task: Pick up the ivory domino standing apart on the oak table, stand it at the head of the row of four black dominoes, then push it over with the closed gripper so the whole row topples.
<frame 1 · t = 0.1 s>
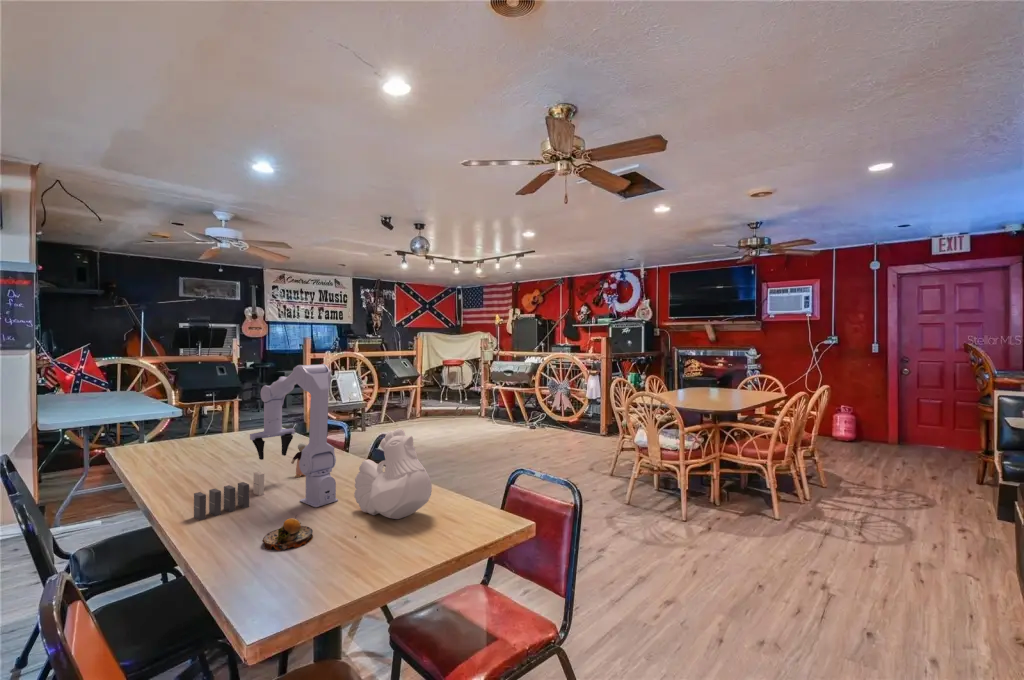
hand: (272, 457, 166), 10 cm above the table, tool pointing down, fingers open, 7 cm apart
decorative rooster: (391, 514, 139), on the table
tile 3: (214, 513, 138), on the table
tile 4: (199, 518, 135), on the table
grandmother figurine: (302, 476, 177), on the table
tile 2: (229, 510, 142), on the table
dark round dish: (288, 542, 121), on the table
ivory tile: (258, 493, 157), on the table
tile 1: (243, 506, 145), on the table
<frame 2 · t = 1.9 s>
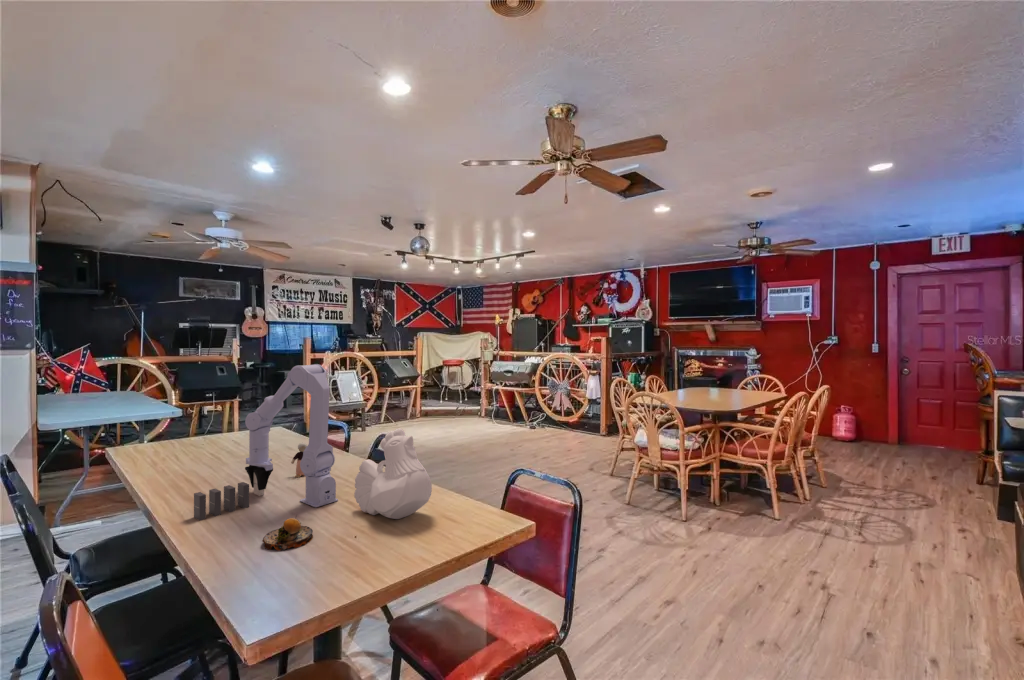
hand: (258, 488, 157), 2 cm above the table, tool pointing down, fingers closed on ivory tile, 4 cm apart
ivory tile: (258, 493, 157), on the table, touching gripper
everything else where it was.
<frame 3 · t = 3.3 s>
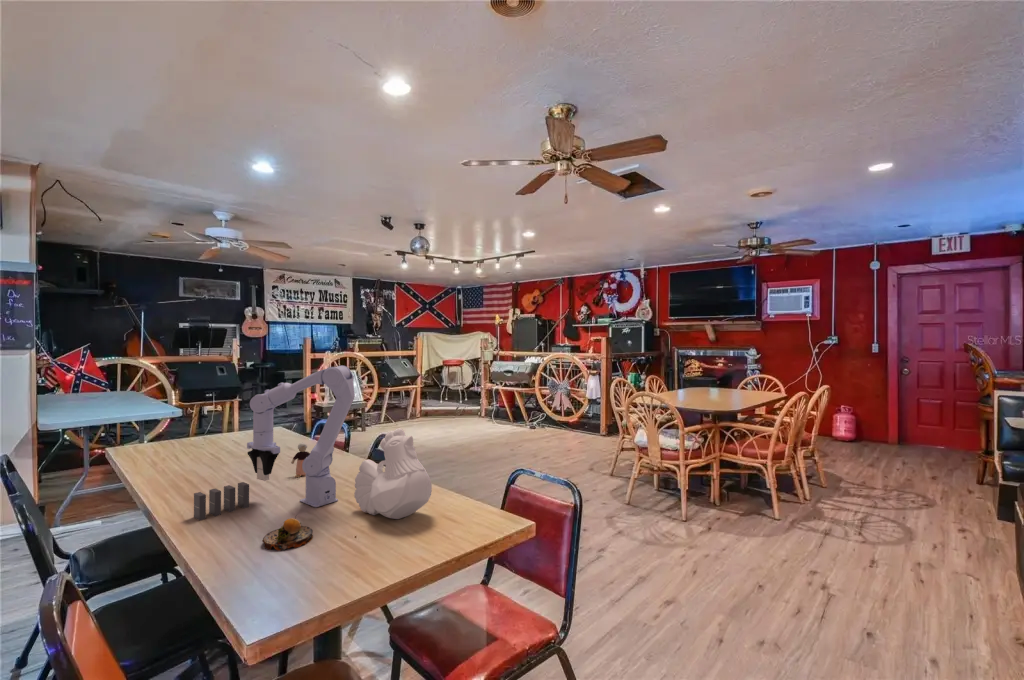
hand: (263, 473, 150), 9 cm above the table, tool pointing down, fingers closed on ivory tile, 4 cm apart
ivory tile: (263, 479, 150), point 7 cm above the table, touching gripper
everything else where it was.
when the fingers open (3 cm above the table, at t = 4.8 s): ivory tile drops 1 cm, on the table.
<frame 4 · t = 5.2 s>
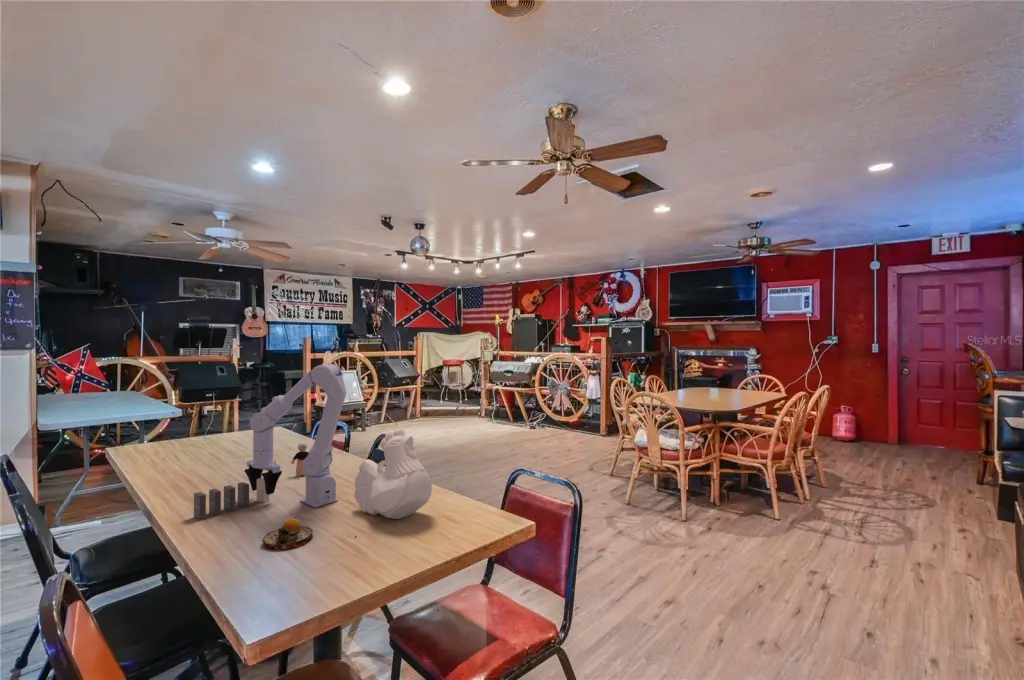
hand: (263, 491, 150), 3 cm above the table, tool pointing down, fingers open, 7 cm apart
ivory tile: (262, 500, 150), on the table
everything else where it was.
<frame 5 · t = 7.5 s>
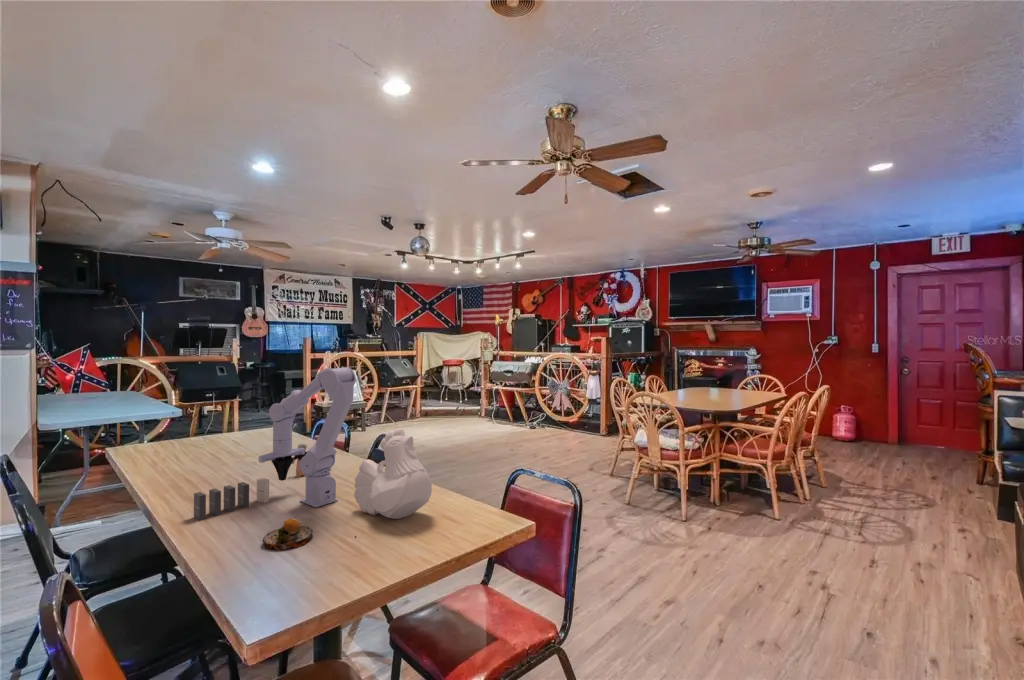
hand: (282, 479, 155), 5 cm above the table, tool pointing down, fingers closed
nothing on the table moved.
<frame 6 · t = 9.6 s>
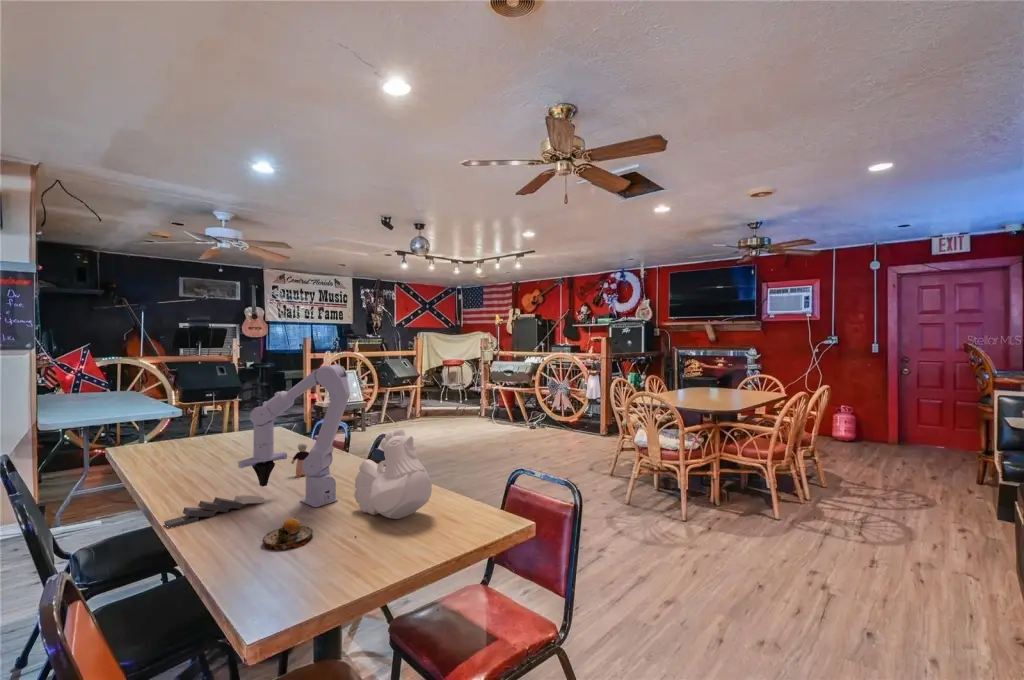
hand: (263, 485, 150), 5 cm above the table, tool pointing down, fingers closed
tile 3: (212, 512, 138), point 1 cm above the table, tilted 72°, touching tile 2
tile 4: (195, 517, 134), on the table, tilted 91°
tile 2: (225, 508, 141), point 1 cm above the table, tilted 65°, touching tile 1, tile 3
ivory tile: (260, 499, 149), point 1 cm above the table, tilted 74°
tile 1: (239, 505, 144), point 1 cm above the table, tilted 65°, touching tile 2
everything else where it was.
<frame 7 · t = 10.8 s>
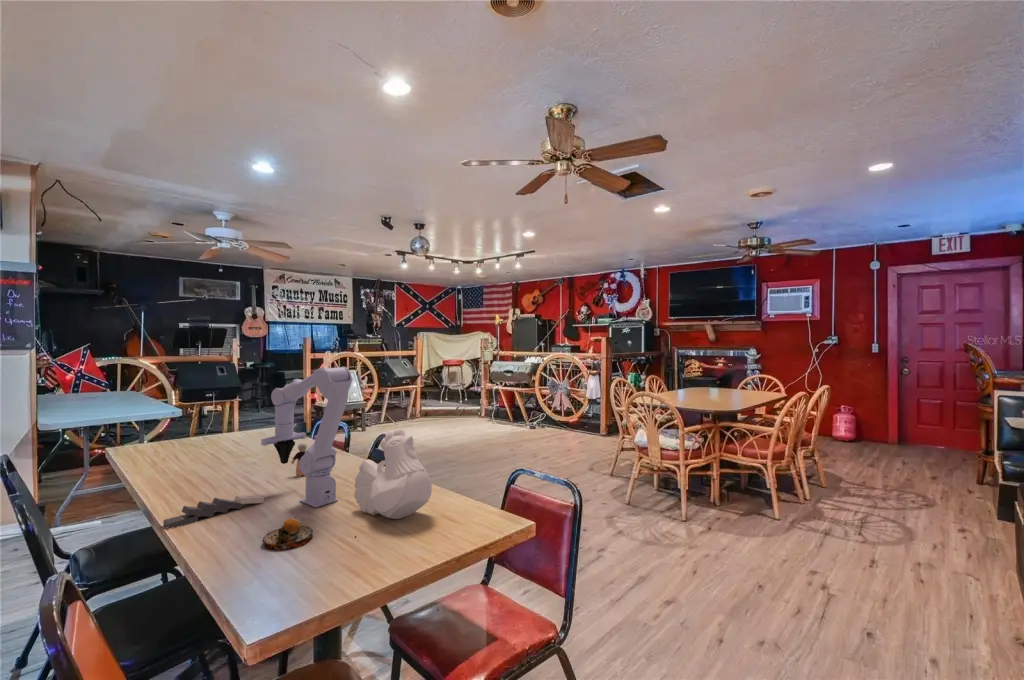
hand: (284, 463, 158), 10 cm above the table, tool pointing down, fingers closed
tile 3: (210, 512, 138), point 1 cm above the table, tilted 68°, touching tile 2, tile 4
tile 4: (195, 517, 134), point 1 cm above the table, tilted 89°, touching tile 3
tile 2: (224, 508, 141), point 1 cm above the table, tilted 66°, touching tile 1, tile 3
ivory tile: (260, 499, 149), point 1 cm above the table, tilted 75°, touching tile 1
tile 1: (238, 505, 144), point 1 cm above the table, tilted 66°, touching ivory tile, tile 2
everything else where it was.
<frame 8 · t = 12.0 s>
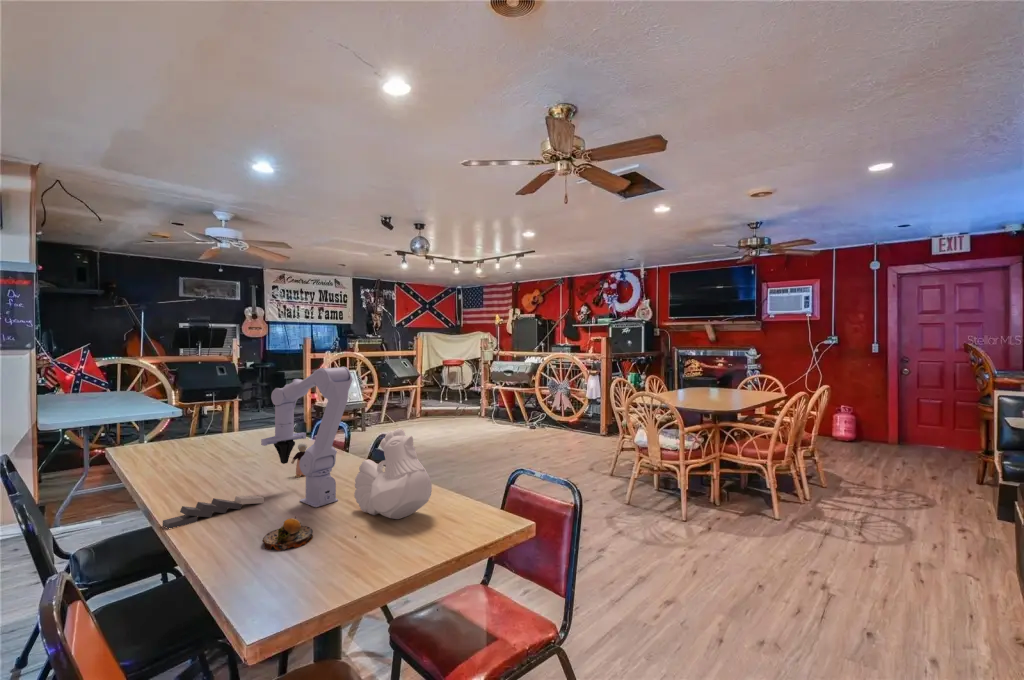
hand: (284, 463, 158), 10 cm above the table, tool pointing down, fingers closed
at the end: tile 4 tilted 89°; ivory tile tilted 76°; the gripper is holding nothing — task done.
